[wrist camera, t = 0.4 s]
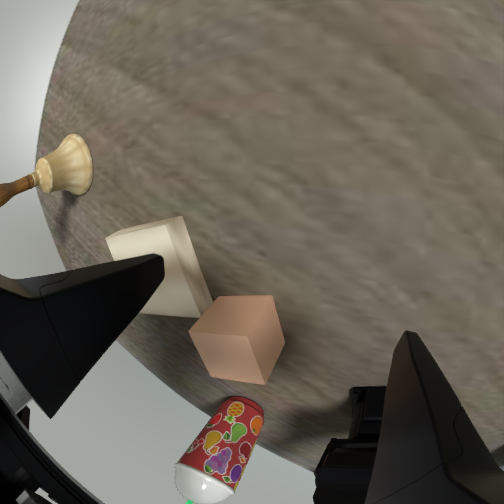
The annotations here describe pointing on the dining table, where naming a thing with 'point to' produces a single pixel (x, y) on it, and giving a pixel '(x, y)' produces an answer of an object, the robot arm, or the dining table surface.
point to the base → (167, 266)
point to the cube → (239, 338)
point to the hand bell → (57, 171)
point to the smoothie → (219, 452)
